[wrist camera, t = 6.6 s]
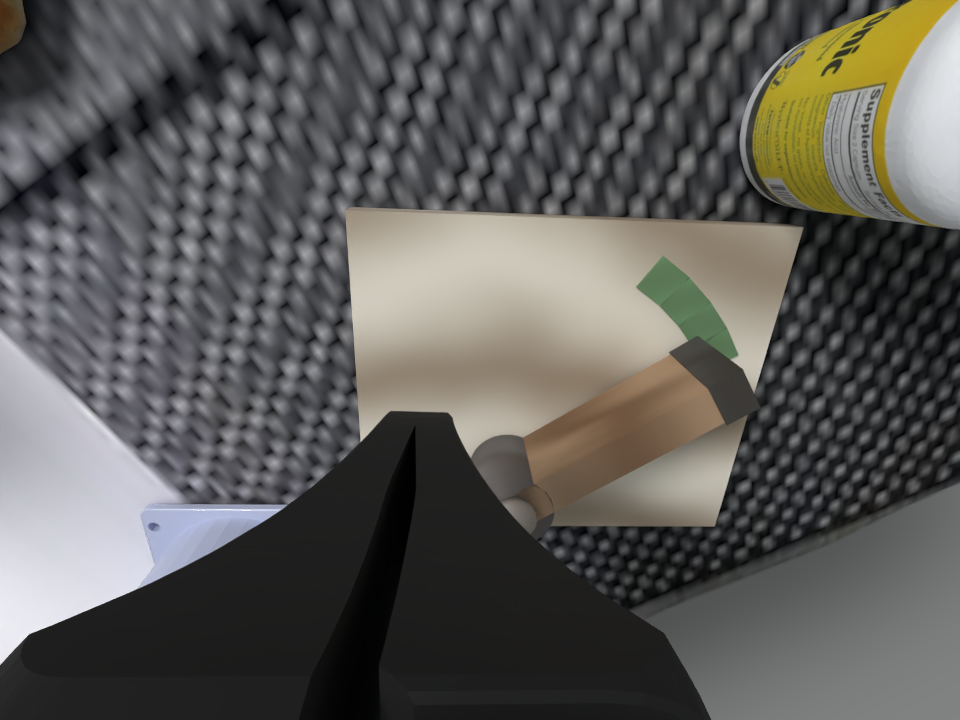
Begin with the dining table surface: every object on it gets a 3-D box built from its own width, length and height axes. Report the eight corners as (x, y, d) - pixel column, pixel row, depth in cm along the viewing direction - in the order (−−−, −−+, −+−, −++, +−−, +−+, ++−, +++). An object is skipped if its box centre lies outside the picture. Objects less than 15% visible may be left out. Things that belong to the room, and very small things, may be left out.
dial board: (704, 511, 23) (715, 527, 22) (370, 510, 22) (366, 527, 21) (785, 223, 18) (805, 227, 17) (351, 207, 17) (344, 210, 16)
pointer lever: (494, 504, 21) (500, 567, 17) (455, 456, 20) (455, 514, 16) (720, 381, 19) (773, 427, 16) (691, 322, 18) (741, 357, 15)
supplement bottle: (893, 6, 15) (1529, -219, 6) (888, 179, 17) (1359, 200, 8) (724, 64, 16) (1089, -66, 7) (739, 226, 18) (1032, 295, 9)
